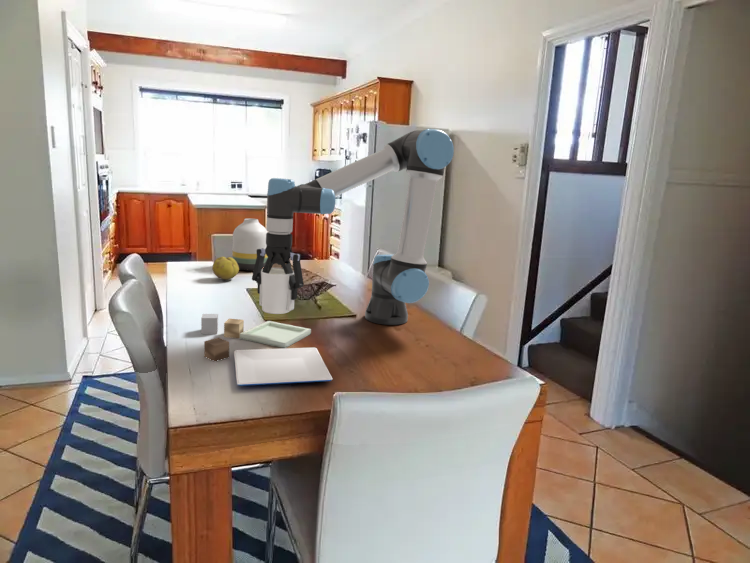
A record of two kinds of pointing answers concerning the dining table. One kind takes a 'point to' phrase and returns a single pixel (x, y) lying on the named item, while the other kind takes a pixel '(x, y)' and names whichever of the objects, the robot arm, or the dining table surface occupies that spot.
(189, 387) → the dining table surface
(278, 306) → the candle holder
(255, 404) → the dining table surface
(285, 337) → the tray
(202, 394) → the dining table surface
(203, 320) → the grey block
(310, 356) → the plate
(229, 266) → the fruit
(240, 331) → the oak block
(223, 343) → the walnut block
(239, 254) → the vase
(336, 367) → the dining table surface
